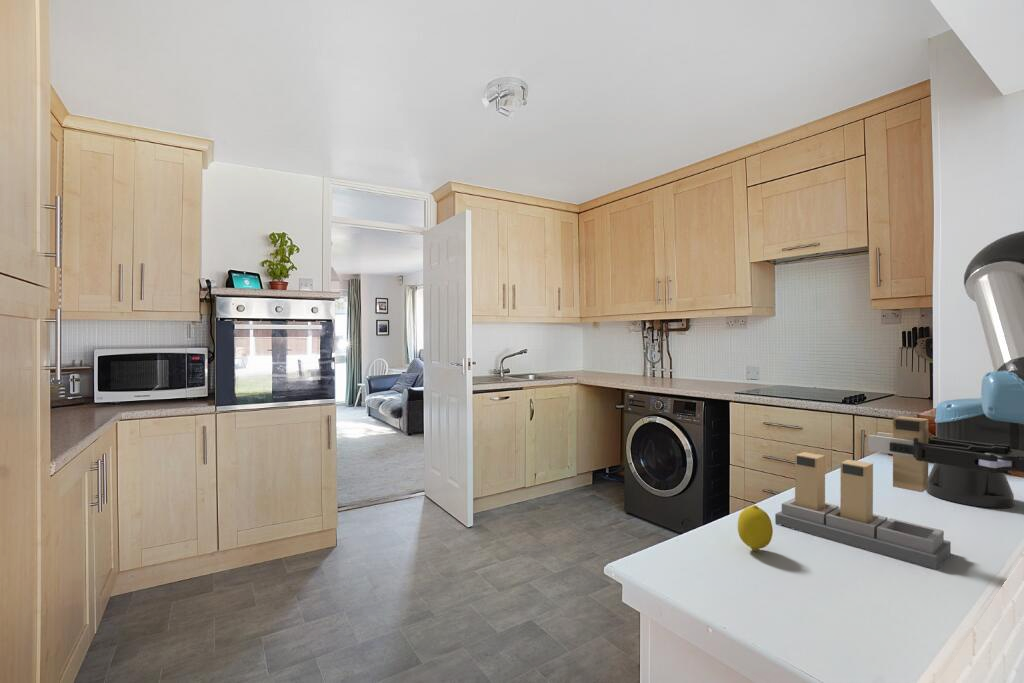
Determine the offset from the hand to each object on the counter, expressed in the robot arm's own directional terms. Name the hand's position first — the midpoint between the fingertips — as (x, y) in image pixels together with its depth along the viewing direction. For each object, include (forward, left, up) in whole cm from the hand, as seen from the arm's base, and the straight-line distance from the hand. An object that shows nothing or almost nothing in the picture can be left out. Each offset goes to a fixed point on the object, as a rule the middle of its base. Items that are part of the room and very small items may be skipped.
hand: (873, 441), depth 89 cm
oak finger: (0, +5, -7) cm, 9 cm away
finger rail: (0, -3, -19) cm, 19 cm away
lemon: (+21, -12, -19) cm, 30 cm away
